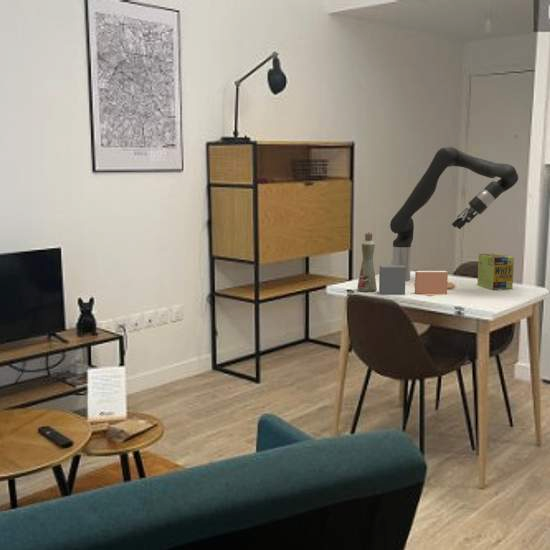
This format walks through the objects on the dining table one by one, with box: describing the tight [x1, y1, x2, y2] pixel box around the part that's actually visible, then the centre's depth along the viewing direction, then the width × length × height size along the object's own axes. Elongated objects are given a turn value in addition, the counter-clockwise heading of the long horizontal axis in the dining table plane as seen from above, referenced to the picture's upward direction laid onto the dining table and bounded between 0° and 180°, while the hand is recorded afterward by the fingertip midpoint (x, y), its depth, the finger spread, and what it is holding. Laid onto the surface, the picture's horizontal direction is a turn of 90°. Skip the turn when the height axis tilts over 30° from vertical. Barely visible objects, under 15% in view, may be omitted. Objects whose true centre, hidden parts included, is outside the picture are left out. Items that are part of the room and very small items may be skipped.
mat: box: [421, 294, 444, 297], centre depth 311 cm, size 10×10×1 cm
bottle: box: [357, 231, 378, 293], centre depth 316 cm, size 9×9×28 cm
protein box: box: [477, 253, 515, 291], centre depth 326 cm, size 10×15×16 cm
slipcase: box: [378, 264, 406, 296], centre depth 310 cm, size 11×6×13 cm, turn 89°
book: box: [414, 270, 449, 295], centre depth 310 cm, size 14×4×10 cm, turn 89°
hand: (455, 226), depth 308 cm, fingers open, 8 cm apart
